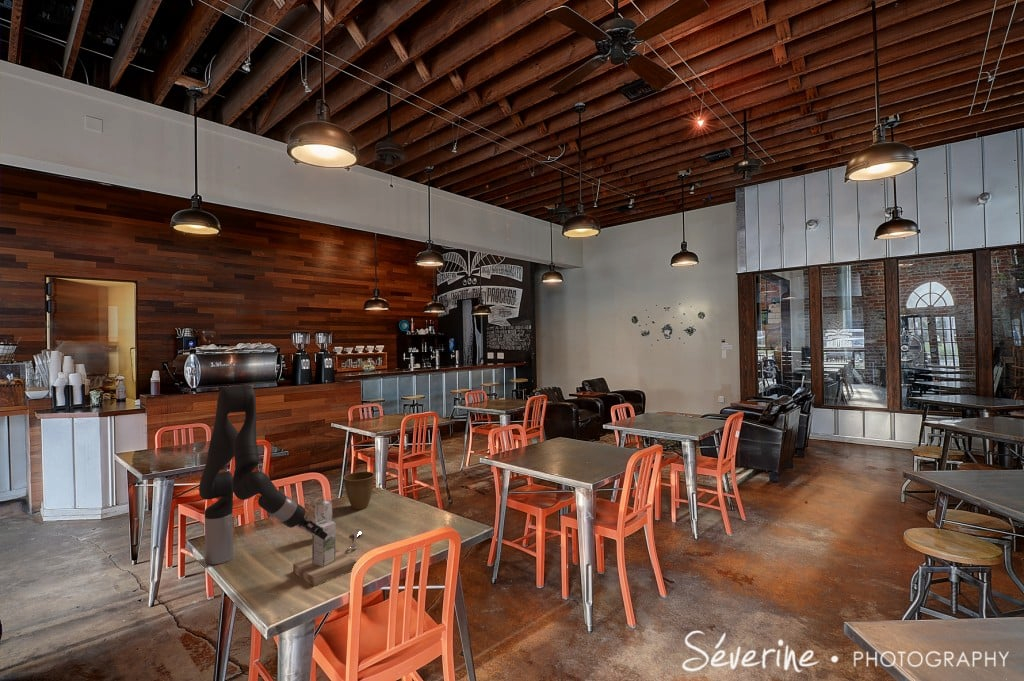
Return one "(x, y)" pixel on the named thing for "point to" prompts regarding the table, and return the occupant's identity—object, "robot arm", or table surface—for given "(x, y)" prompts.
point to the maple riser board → (323, 569)
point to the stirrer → (355, 533)
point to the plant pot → (359, 488)
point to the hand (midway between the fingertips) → (319, 533)
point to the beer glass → (323, 511)
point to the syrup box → (324, 544)
